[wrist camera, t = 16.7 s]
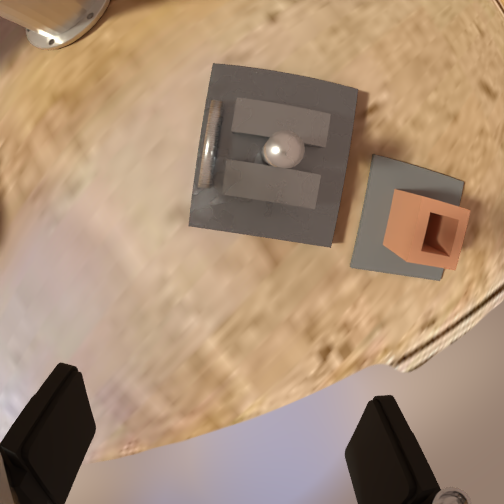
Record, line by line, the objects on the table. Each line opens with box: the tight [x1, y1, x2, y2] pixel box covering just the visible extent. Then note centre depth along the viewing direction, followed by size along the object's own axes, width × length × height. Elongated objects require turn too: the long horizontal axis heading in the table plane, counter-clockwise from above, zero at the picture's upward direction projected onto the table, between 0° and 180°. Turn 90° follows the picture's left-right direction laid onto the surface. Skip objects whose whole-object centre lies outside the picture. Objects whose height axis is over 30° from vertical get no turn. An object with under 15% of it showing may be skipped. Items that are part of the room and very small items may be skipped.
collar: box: [383, 189, 470, 270], centre depth 28 cm, size 6×6×6 cm
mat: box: [350, 154, 464, 281], centre depth 31 cm, size 12×12×1 cm
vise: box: [189, 63, 358, 248], centre depth 24 cm, size 16×14×12 cm
